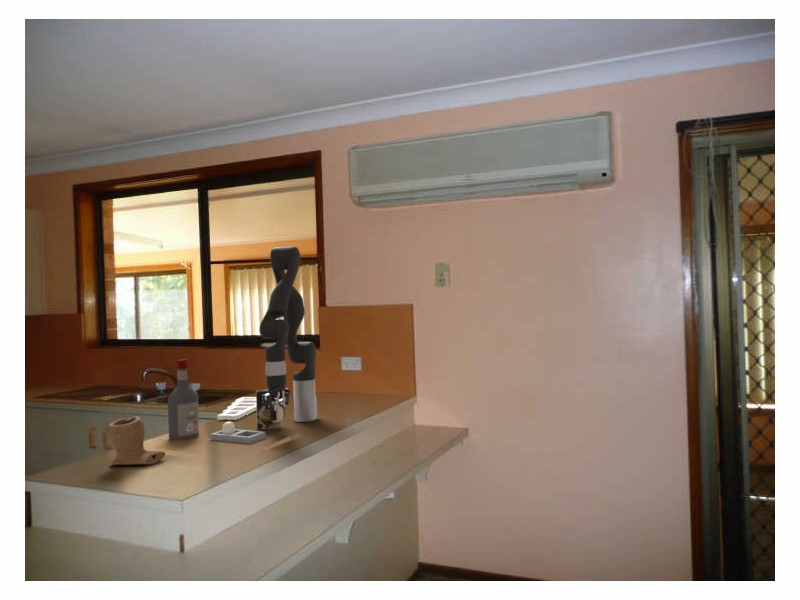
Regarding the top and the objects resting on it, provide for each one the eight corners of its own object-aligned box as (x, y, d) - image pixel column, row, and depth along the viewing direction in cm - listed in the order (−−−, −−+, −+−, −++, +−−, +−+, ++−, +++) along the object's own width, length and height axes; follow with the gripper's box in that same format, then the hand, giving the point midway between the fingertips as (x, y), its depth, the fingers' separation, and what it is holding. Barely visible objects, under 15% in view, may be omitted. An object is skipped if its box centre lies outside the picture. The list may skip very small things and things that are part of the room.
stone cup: (100, 469, 178) (98, 421, 178) (124, 458, 189) (123, 413, 189) (144, 470, 175) (143, 421, 175) (166, 459, 187) (165, 413, 187)
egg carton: (227, 437, 215) (227, 428, 215) (268, 441, 207) (267, 431, 207) (208, 443, 206) (207, 434, 206) (250, 448, 198) (250, 438, 198)
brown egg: (276, 419, 215) (276, 403, 215) (286, 420, 213) (285, 404, 213) (269, 421, 211) (268, 406, 211) (279, 422, 209) (278, 406, 209)
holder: (237, 421, 245) (236, 415, 245) (198, 421, 248) (197, 415, 248) (276, 402, 289) (275, 397, 289) (242, 402, 292) (242, 397, 292)
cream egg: (228, 435, 211) (227, 420, 211) (237, 436, 209) (237, 420, 209) (219, 438, 207) (219, 422, 207) (229, 439, 205) (229, 423, 205)
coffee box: (257, 433, 220) (255, 391, 220) (256, 429, 226) (255, 389, 226) (281, 431, 222) (279, 390, 222) (280, 427, 229) (278, 387, 228)
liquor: (202, 438, 214) (200, 359, 213) (182, 444, 206) (179, 361, 206) (186, 436, 218) (183, 358, 218) (165, 442, 210) (163, 360, 210)
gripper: (279, 370, 219) (280, 414, 220) (255, 375, 206) (257, 422, 207) (295, 370, 216) (297, 415, 217) (272, 376, 203) (274, 424, 204)
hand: (277, 418), depth 212 cm, fingers closed on brown egg, 4 cm apart
